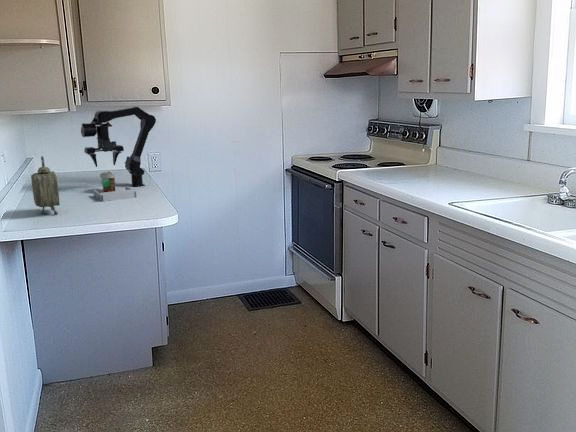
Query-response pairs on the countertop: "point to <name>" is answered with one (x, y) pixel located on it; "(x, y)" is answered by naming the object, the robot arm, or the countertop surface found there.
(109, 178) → the food container
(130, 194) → the frame
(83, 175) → the countertop surface
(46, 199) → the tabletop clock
